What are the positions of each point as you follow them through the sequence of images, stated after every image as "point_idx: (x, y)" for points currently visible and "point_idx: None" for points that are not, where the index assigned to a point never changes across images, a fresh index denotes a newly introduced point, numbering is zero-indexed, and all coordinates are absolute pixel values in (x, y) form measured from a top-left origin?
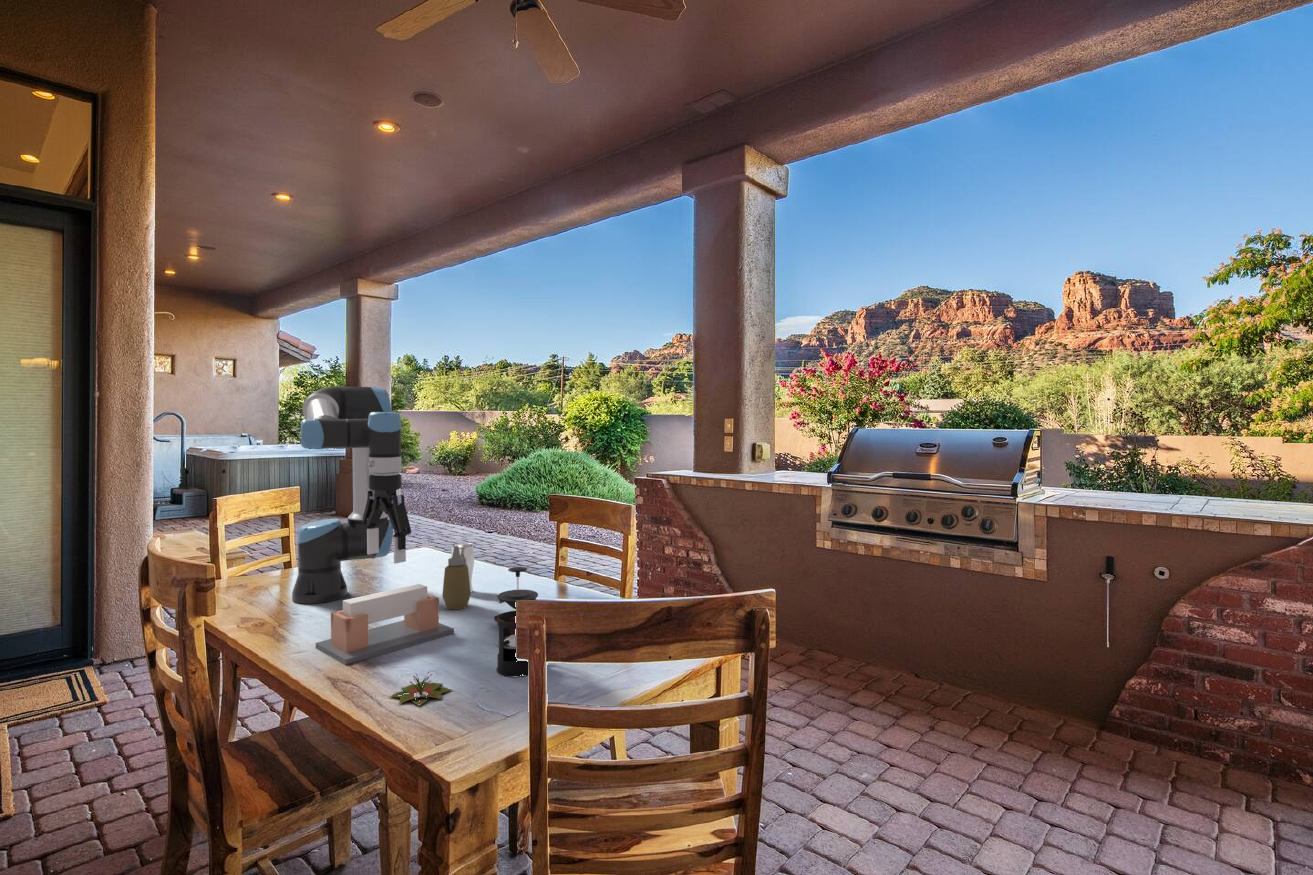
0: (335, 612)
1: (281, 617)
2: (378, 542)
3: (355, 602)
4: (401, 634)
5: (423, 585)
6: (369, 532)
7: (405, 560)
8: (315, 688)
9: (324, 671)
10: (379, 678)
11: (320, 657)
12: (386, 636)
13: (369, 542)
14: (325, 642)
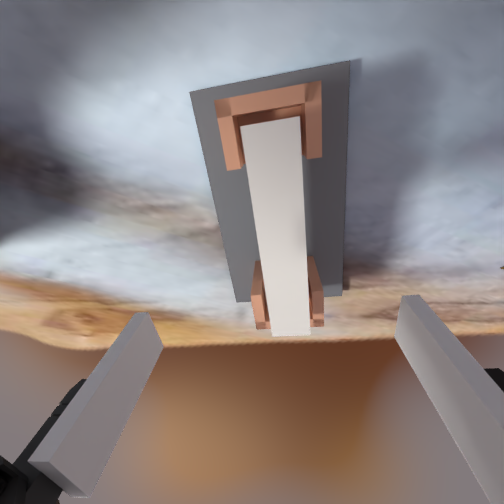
0: (261, 324)
1: (61, 292)
2: (119, 354)
3: (309, 325)
4: None
5: (273, 121)
6: (101, 463)
7: (421, 299)
8: (387, 334)
9: (340, 314)
10: (433, 276)
11: None
12: None
13: (136, 396)
14: (244, 293)
